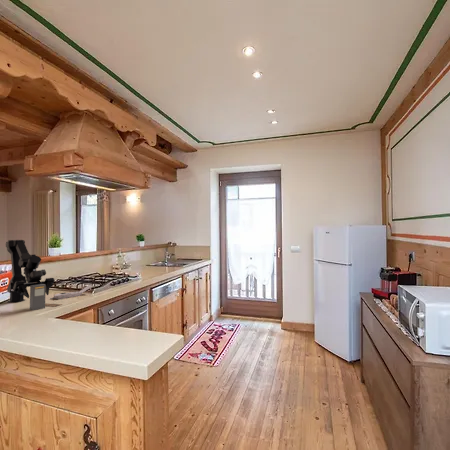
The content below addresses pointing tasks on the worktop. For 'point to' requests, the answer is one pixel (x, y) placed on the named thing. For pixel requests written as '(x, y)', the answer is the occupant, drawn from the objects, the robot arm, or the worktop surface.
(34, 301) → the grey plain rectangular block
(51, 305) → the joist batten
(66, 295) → the mobile phone
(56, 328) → the worktop surface
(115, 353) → the worktop surface
